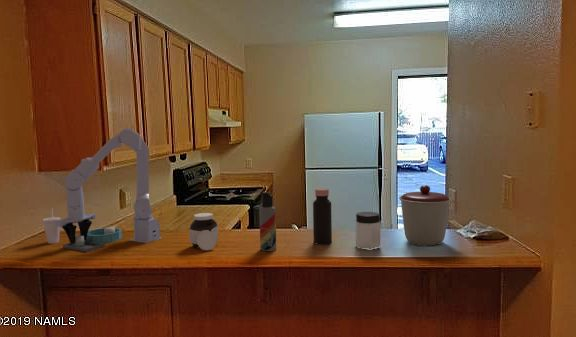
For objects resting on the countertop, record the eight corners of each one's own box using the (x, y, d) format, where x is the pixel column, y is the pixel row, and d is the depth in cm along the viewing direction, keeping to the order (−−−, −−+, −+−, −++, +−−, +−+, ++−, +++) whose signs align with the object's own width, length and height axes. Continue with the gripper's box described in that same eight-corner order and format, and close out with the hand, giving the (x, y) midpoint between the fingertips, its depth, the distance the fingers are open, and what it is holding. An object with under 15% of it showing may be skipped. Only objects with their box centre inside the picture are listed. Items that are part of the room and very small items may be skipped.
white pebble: (86, 244, 160) (86, 235, 159) (77, 247, 156) (76, 238, 156) (79, 243, 161) (79, 234, 161) (70, 246, 158) (69, 237, 158)
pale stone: (117, 235, 172) (116, 227, 172) (109, 238, 169) (108, 229, 168) (110, 234, 174) (110, 226, 174) (102, 237, 170) (101, 228, 170)
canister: (388, 240, 159) (388, 184, 157) (423, 233, 168) (423, 180, 166) (426, 252, 143) (426, 190, 141) (462, 244, 152) (463, 185, 150)
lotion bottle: (264, 252, 147) (262, 195, 145) (257, 248, 152) (256, 193, 150) (279, 250, 149) (277, 194, 147) (272, 246, 154) (270, 192, 152)
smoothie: (54, 245, 162) (51, 209, 161) (40, 245, 163) (37, 209, 162) (66, 241, 168) (63, 206, 167) (52, 240, 170) (49, 206, 168)
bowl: (128, 237, 171) (128, 229, 171) (101, 246, 160) (100, 236, 160) (106, 234, 177) (106, 226, 177) (78, 242, 166) (77, 233, 166)
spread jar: (207, 241, 164) (206, 211, 163) (228, 245, 158) (227, 214, 156) (183, 248, 154) (181, 217, 153) (204, 253, 148) (203, 220, 147)
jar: (382, 250, 147) (382, 216, 146) (359, 251, 146) (358, 216, 145) (376, 243, 156) (376, 211, 154) (354, 244, 155) (353, 211, 154)
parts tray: (104, 247, 158) (104, 243, 157) (87, 253, 151) (86, 248, 151) (80, 243, 164) (80, 240, 164) (63, 248, 157) (62, 244, 157)
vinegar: (322, 246, 153) (322, 191, 151) (309, 242, 158) (308, 189, 156) (335, 242, 158) (335, 189, 156) (322, 239, 163) (321, 187, 161)
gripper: (85, 201, 166) (88, 236, 167) (50, 208, 153) (53, 245, 154) (98, 202, 162) (100, 237, 164) (62, 209, 150) (65, 247, 151)
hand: (78, 241), depth 159 cm, fingers closed on white pebble, 4 cm apart
